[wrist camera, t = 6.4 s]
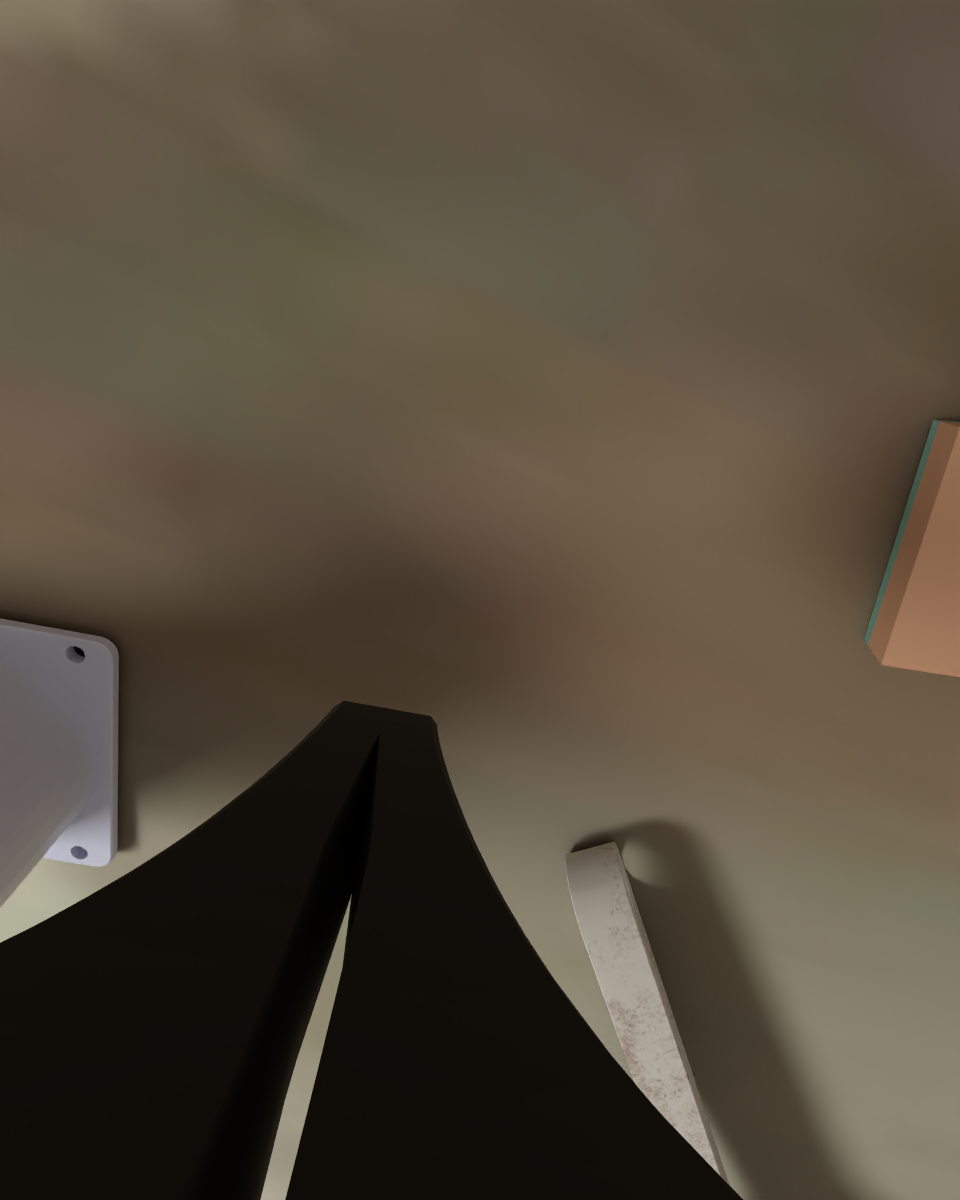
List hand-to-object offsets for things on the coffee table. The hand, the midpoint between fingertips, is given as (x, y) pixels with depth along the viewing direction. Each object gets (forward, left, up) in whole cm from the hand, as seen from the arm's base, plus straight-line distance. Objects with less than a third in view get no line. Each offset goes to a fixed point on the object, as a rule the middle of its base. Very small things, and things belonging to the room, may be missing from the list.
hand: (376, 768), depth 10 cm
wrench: (+14, -21, -10) cm, 27 cm away
